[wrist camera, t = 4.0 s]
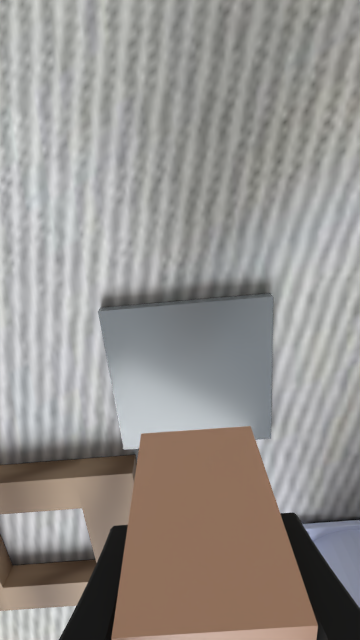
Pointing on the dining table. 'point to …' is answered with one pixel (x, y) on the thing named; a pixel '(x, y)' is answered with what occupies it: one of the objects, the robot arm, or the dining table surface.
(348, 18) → the dining table surface
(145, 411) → the coaster
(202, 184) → the dining table surface
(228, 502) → the block
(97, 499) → the pocket board
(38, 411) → the dining table surface
